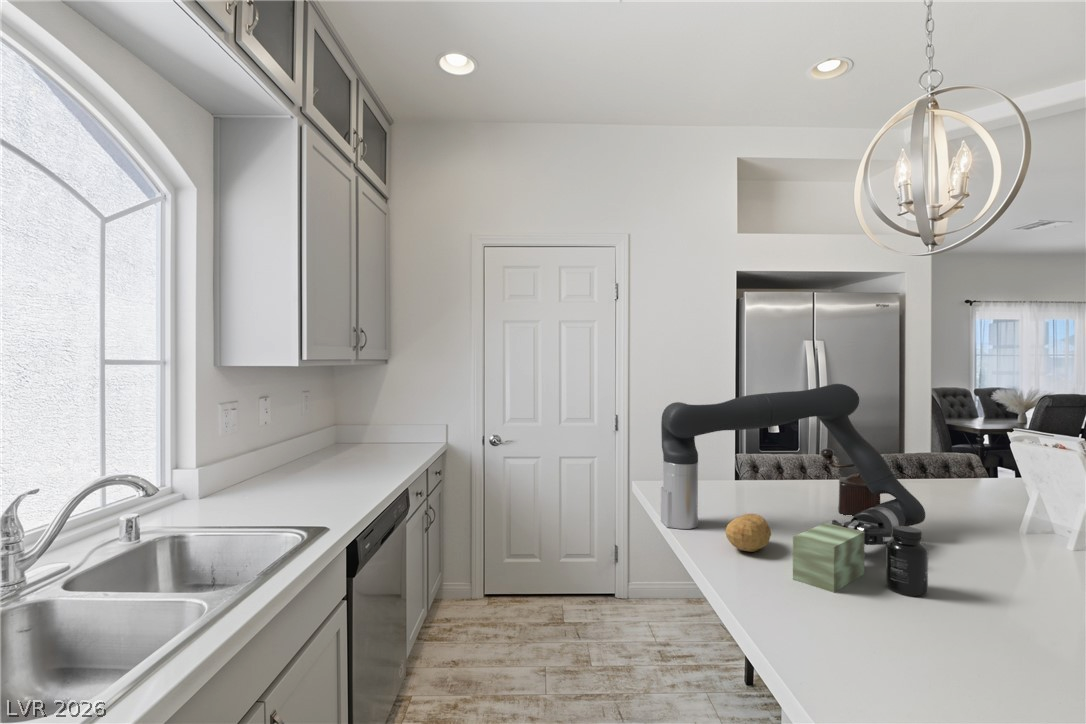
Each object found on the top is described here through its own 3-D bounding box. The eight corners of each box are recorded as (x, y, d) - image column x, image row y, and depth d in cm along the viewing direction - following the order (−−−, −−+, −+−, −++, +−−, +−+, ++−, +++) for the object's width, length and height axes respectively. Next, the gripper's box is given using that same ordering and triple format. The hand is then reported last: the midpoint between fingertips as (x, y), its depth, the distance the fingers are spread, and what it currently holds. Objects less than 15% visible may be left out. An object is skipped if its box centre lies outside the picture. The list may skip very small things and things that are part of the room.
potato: (776, 544, 132) (776, 512, 132) (763, 562, 120) (763, 526, 120) (735, 537, 137) (735, 506, 137) (719, 553, 125) (719, 519, 125)
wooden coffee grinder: (877, 510, 163) (878, 450, 163) (881, 519, 153) (881, 456, 153) (820, 503, 170) (820, 446, 170) (819, 512, 160) (820, 452, 160)
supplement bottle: (936, 598, 102) (937, 534, 102) (900, 597, 103) (900, 534, 102) (912, 583, 109) (912, 523, 109) (878, 582, 109) (878, 523, 109)
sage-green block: (824, 563, 120) (825, 522, 120) (864, 574, 114) (864, 531, 114) (792, 580, 111) (793, 536, 111) (833, 593, 105) (834, 547, 105)
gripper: (845, 503, 133) (813, 515, 122) (907, 515, 123) (878, 530, 112) (845, 533, 133) (813, 548, 122) (907, 548, 123) (877, 566, 112)
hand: (844, 539), depth 117 cm, fingers closed
